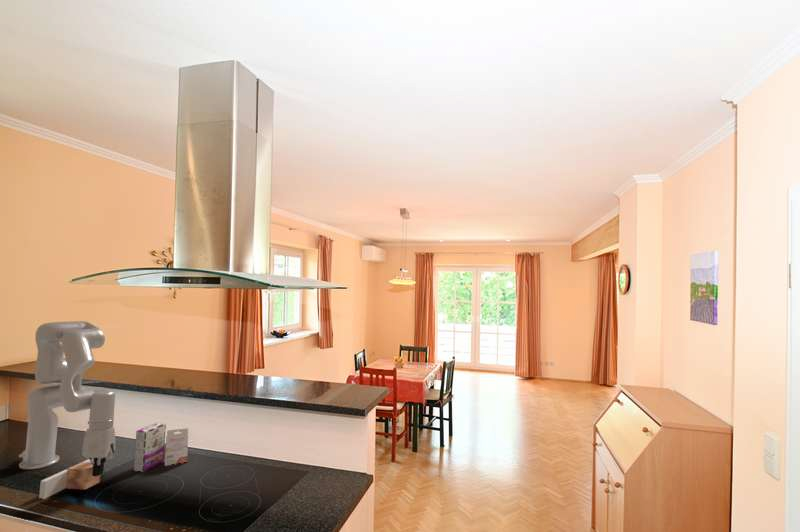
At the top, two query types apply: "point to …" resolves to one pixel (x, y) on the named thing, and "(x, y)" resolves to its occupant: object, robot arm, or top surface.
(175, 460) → the ink cartridge box
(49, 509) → the top surface
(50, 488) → the grey board
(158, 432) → the candy bar box
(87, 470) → the terracotta block
